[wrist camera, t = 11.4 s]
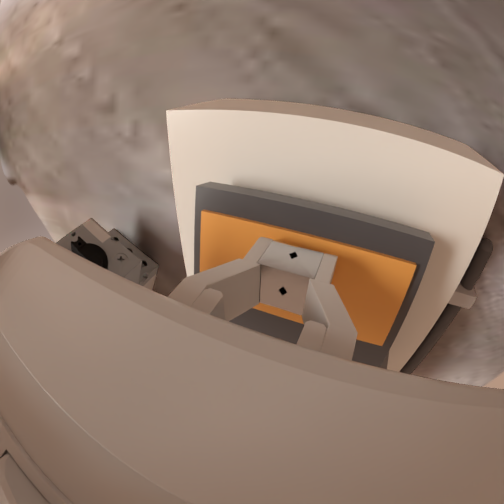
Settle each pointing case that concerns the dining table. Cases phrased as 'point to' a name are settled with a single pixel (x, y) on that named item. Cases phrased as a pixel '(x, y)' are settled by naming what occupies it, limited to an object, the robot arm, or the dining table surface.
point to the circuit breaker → (111, 252)
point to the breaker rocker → (322, 240)
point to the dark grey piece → (453, 304)
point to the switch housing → (342, 181)
